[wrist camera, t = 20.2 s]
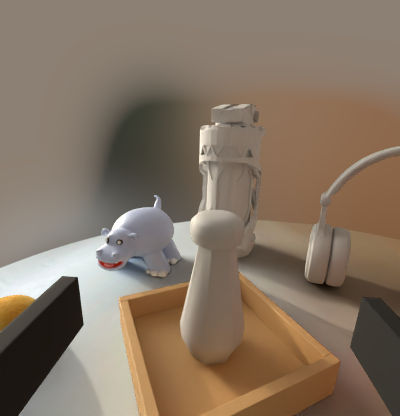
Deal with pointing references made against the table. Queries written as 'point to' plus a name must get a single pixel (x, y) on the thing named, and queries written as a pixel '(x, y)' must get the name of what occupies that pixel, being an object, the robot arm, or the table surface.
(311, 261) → the headphones
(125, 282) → the table surface
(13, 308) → the bread roll
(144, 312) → the pale tray
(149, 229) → the hippopotamus toy
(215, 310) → the salt shaker
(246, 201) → the lantern
